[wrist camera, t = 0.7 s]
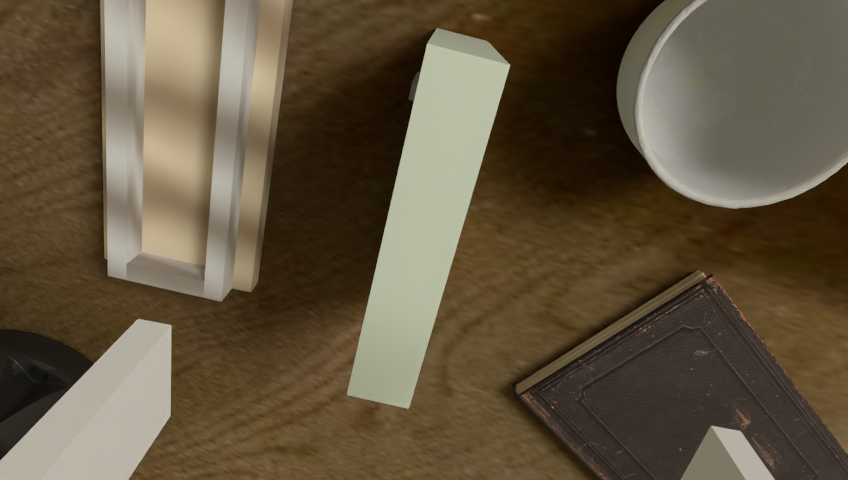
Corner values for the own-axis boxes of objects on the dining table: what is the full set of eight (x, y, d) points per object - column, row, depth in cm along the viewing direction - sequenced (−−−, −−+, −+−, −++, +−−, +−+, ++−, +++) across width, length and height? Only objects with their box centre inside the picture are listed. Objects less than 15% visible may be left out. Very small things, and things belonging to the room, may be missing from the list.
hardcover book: (698, 260, 36) (714, 276, 34) (846, 456, 42) (866, 480, 40) (510, 380, 41) (514, 400, 38) (668, 540, 47) (679, 565, 45)
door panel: (422, 278, 37) (408, 408, 25) (375, 267, 37) (338, 392, 25) (487, 41, 30) (510, 65, 18) (430, 26, 30) (415, 40, 18)
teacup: (746, 177, 33) (830, 226, 25) (574, 151, 33) (610, 193, 25) (852, -81, 27) (1000, -112, 20) (644, -114, 27) (716, -157, 20)
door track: (258, 282, 37) (241, 306, 34) (117, 249, 37) (87, 271, 34) (300, -64, 28) (283, -72, 25) (115, -114, 28) (75, -128, 25)
